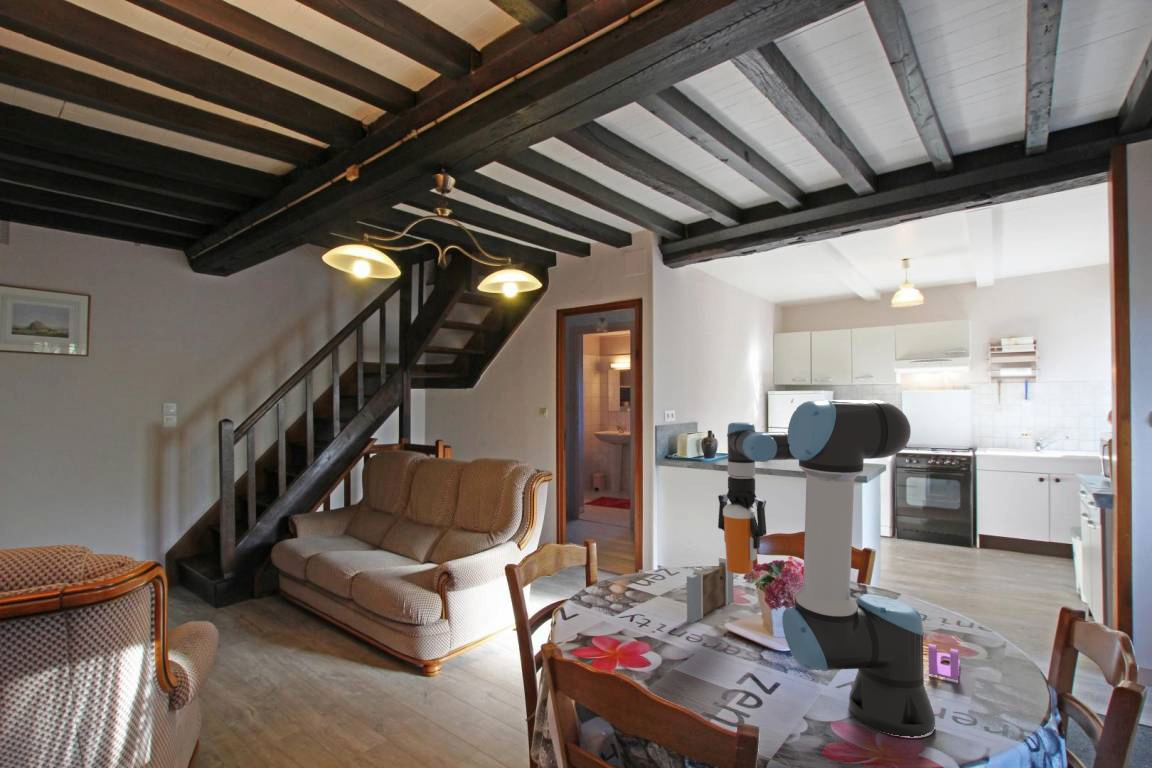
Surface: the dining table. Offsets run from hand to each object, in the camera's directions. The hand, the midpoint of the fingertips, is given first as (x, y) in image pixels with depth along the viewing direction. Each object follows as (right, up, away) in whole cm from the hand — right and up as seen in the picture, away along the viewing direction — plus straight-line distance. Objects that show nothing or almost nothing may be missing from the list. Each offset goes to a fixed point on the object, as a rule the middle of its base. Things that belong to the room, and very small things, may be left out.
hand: (741, 557), depth 155 cm
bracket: (+41, -19, -25) cm, 52 cm away
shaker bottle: (-1, -4, 0) cm, 4 cm away
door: (-6, -19, +10) cm, 23 cm away
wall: (-6, -20, +11) cm, 23 cm away
